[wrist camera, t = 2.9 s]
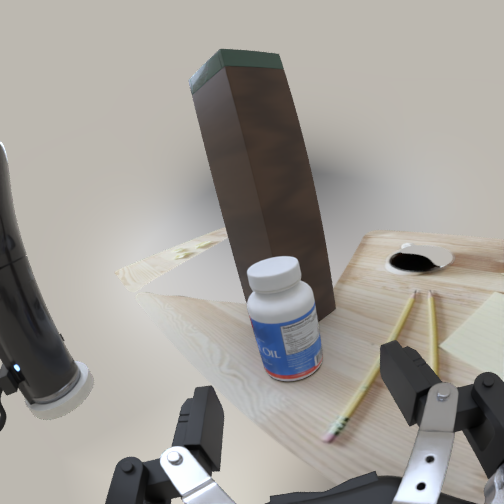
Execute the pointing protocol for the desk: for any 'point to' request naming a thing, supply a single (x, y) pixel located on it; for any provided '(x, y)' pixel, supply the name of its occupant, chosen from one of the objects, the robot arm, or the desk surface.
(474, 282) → the desk surface
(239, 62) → the socket
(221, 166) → the stand
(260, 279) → the pill bottle
